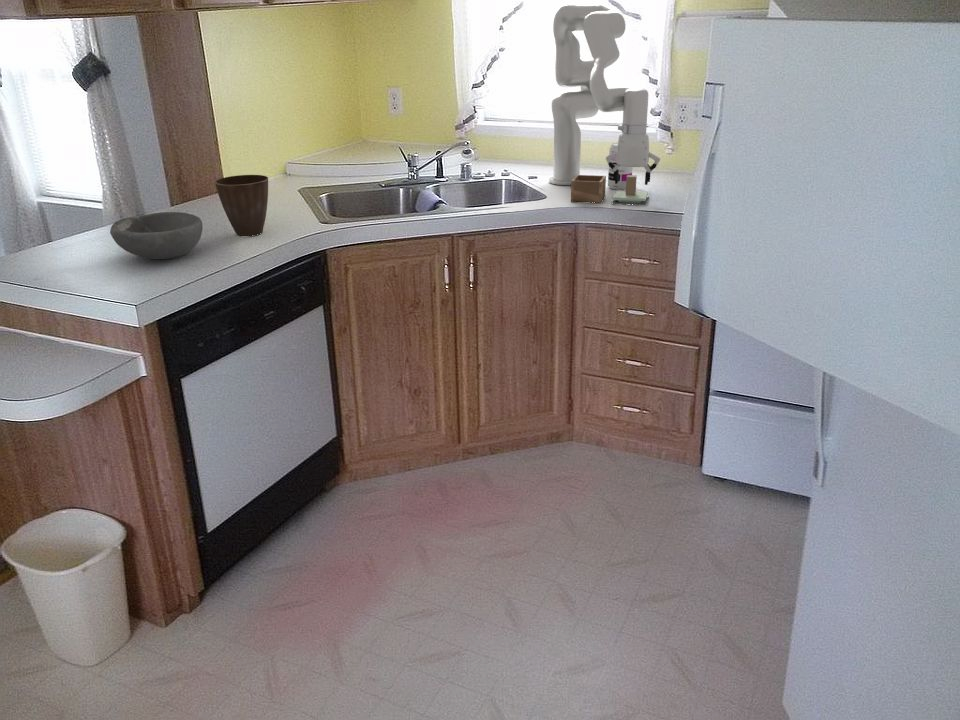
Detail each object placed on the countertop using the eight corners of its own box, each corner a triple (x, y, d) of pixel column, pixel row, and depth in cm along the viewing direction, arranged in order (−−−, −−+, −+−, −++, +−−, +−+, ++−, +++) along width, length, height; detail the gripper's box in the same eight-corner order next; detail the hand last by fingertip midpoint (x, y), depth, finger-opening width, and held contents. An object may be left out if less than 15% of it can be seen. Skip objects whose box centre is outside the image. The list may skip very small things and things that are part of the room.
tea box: (575, 195, 277) (576, 174, 275) (605, 196, 275) (606, 175, 272) (570, 202, 269) (571, 180, 266) (601, 203, 266) (601, 182, 263)
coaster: (615, 196, 274) (615, 195, 274) (648, 198, 272) (648, 196, 271) (611, 204, 265) (611, 203, 265) (645, 205, 262) (645, 204, 262)
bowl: (143, 275, 206) (136, 236, 202) (102, 259, 220) (94, 222, 216) (223, 254, 222) (217, 218, 218) (180, 240, 235) (174, 206, 231)
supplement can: (630, 185, 291) (632, 142, 284) (631, 190, 283) (634, 146, 277) (607, 185, 291) (609, 142, 285) (608, 190, 284) (610, 146, 278)
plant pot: (212, 238, 237) (203, 183, 230) (242, 225, 250) (235, 173, 243) (256, 242, 232) (248, 186, 225) (284, 229, 245) (278, 175, 238)
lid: (616, 195, 274) (617, 172, 271) (647, 197, 271) (649, 173, 268) (612, 202, 265) (613, 178, 262) (645, 204, 262) (646, 179, 259)
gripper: (605, 130, 258) (603, 185, 265) (661, 132, 253) (657, 187, 260) (608, 127, 264) (606, 180, 271) (662, 128, 260) (659, 182, 267)
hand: (631, 183), depth 266 cm, fingers open, 9 cm apart
